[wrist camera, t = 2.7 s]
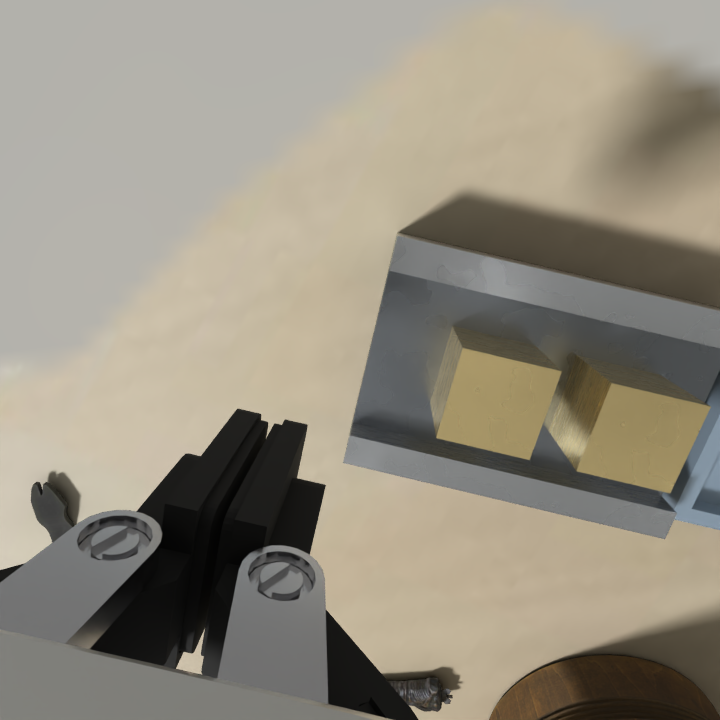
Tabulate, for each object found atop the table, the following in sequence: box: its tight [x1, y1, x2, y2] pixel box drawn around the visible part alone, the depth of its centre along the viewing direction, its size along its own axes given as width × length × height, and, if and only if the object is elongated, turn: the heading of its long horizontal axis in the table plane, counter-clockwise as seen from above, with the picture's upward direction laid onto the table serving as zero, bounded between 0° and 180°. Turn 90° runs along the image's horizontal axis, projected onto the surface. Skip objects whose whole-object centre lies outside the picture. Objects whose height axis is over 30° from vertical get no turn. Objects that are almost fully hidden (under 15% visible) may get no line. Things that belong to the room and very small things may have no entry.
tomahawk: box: [31, 482, 74, 542], centre depth 33 cm, size 21×7×1 cm, turn 2°
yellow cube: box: [430, 326, 562, 460], centre depth 22 cm, size 4×4×4 cm
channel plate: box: [343, 232, 720, 539], centre depth 24 cm, size 16×11×4 cm
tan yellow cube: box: [549, 355, 711, 493], centre depth 22 cm, size 4×4×4 cm
